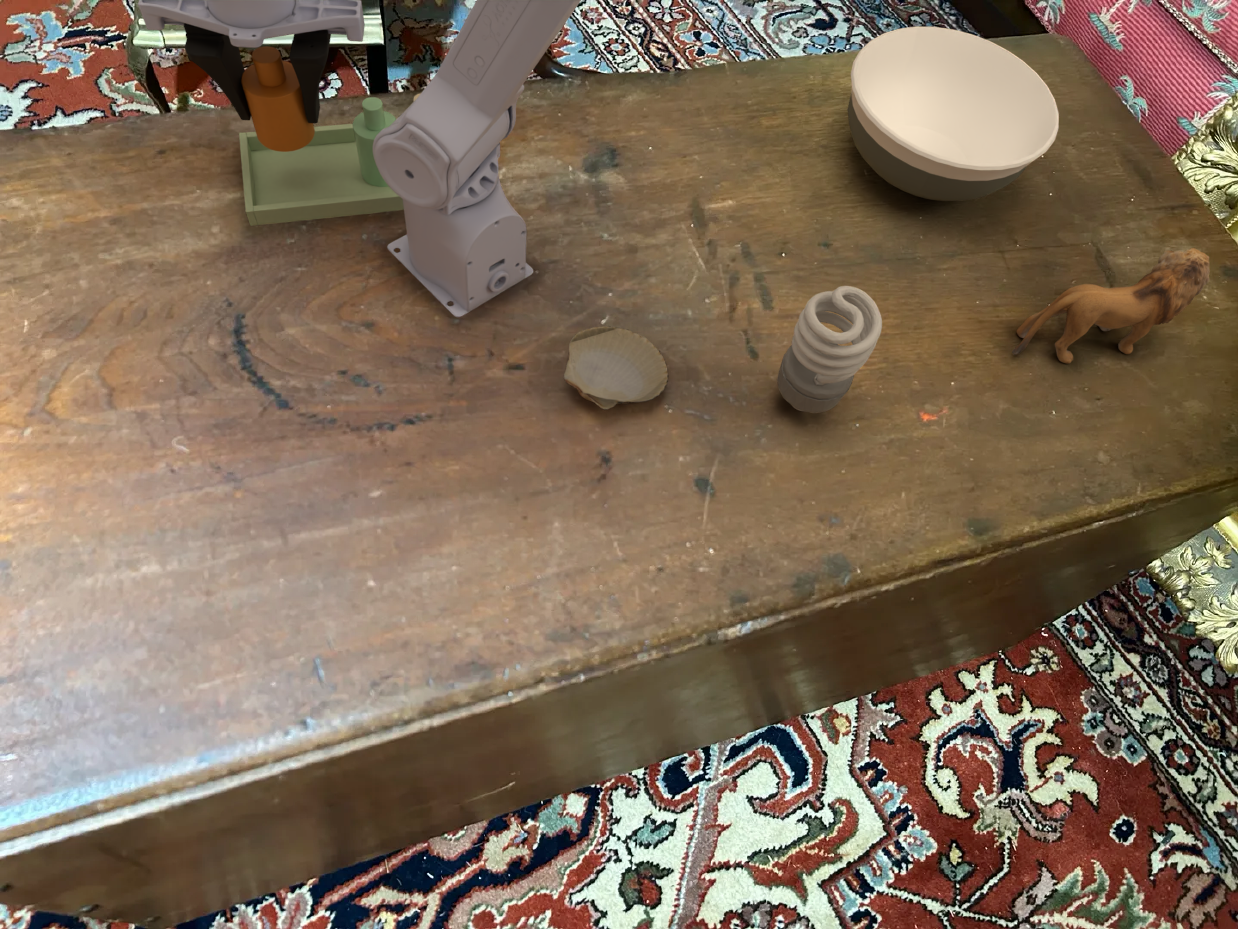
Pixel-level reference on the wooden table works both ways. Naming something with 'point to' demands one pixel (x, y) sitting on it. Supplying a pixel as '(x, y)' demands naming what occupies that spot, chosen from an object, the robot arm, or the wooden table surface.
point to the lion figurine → (1125, 303)
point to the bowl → (947, 113)
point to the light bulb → (828, 348)
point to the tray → (309, 180)
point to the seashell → (615, 367)
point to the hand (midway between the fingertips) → (280, 112)
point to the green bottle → (370, 137)
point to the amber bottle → (276, 102)
